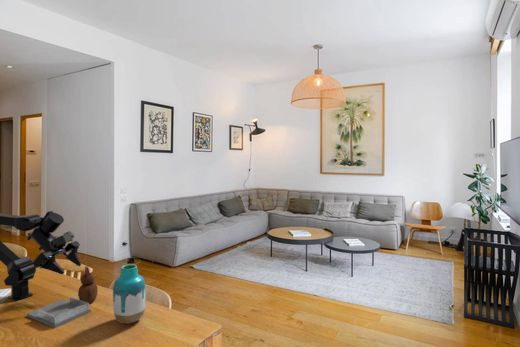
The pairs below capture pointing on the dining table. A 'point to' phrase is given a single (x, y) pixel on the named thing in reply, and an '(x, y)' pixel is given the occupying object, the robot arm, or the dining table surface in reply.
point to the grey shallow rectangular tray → (60, 312)
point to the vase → (129, 295)
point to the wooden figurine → (87, 287)
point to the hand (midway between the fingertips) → (71, 269)
